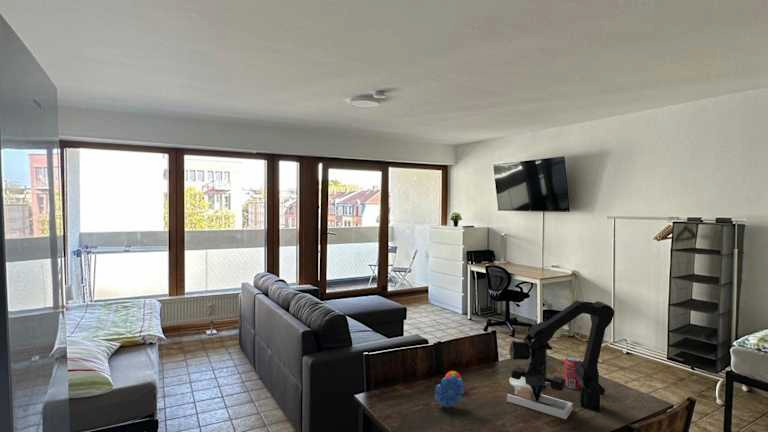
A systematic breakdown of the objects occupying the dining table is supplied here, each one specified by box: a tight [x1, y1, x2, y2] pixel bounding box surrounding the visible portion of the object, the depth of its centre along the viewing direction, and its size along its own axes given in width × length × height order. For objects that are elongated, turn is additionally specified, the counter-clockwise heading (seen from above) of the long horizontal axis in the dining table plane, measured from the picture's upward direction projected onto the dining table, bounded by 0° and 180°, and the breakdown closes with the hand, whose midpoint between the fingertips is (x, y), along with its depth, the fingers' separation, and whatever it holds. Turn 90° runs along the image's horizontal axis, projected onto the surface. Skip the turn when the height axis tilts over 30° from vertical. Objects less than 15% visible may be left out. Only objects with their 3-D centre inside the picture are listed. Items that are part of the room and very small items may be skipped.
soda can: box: [563, 355, 583, 390], centre depth 174 cm, size 7×7×12 cm
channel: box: [506, 387, 573, 420], centre depth 157 cm, size 22×9×2 cm, turn 52°
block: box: [516, 386, 536, 402], centre depth 160 cm, size 5×5×4 cm
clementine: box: [444, 370, 462, 379], centre depth 171 cm, size 8×7×7 cm
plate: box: [508, 376, 532, 389], centre depth 176 cm, size 14×14×1 cm
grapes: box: [434, 375, 466, 408], centre depth 156 cm, size 12×7×12 cm, turn 96°
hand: (537, 400), depth 158 cm, fingers closed
